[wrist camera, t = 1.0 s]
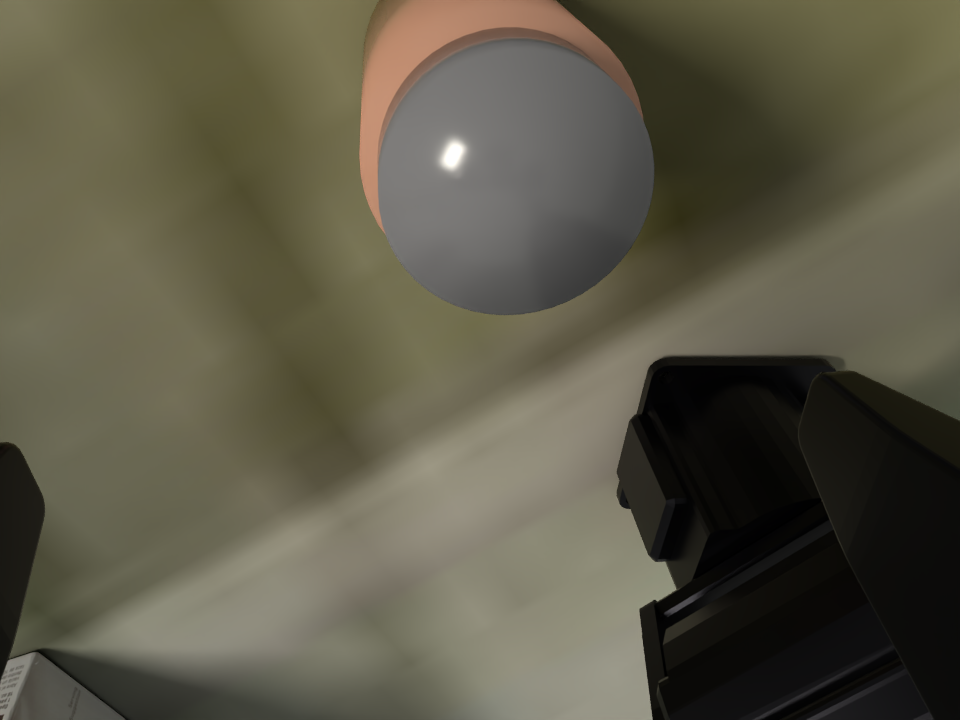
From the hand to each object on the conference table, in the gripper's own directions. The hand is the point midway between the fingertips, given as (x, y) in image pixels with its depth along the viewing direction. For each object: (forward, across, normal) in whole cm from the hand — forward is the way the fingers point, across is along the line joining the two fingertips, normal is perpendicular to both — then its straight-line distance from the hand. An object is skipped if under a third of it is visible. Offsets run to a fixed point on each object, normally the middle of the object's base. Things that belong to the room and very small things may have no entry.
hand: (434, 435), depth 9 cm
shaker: (+13, -2, -1) cm, 13 cm away
